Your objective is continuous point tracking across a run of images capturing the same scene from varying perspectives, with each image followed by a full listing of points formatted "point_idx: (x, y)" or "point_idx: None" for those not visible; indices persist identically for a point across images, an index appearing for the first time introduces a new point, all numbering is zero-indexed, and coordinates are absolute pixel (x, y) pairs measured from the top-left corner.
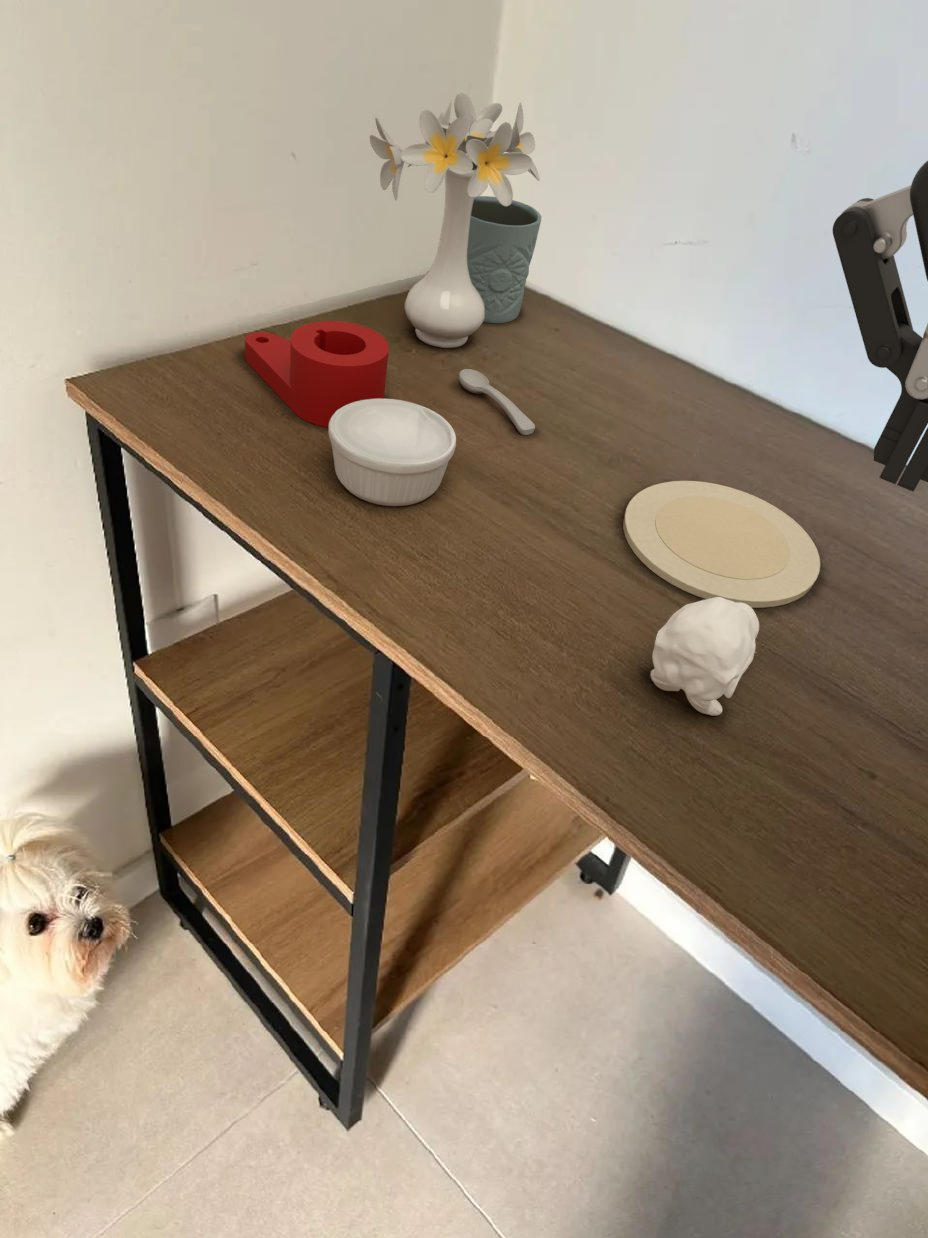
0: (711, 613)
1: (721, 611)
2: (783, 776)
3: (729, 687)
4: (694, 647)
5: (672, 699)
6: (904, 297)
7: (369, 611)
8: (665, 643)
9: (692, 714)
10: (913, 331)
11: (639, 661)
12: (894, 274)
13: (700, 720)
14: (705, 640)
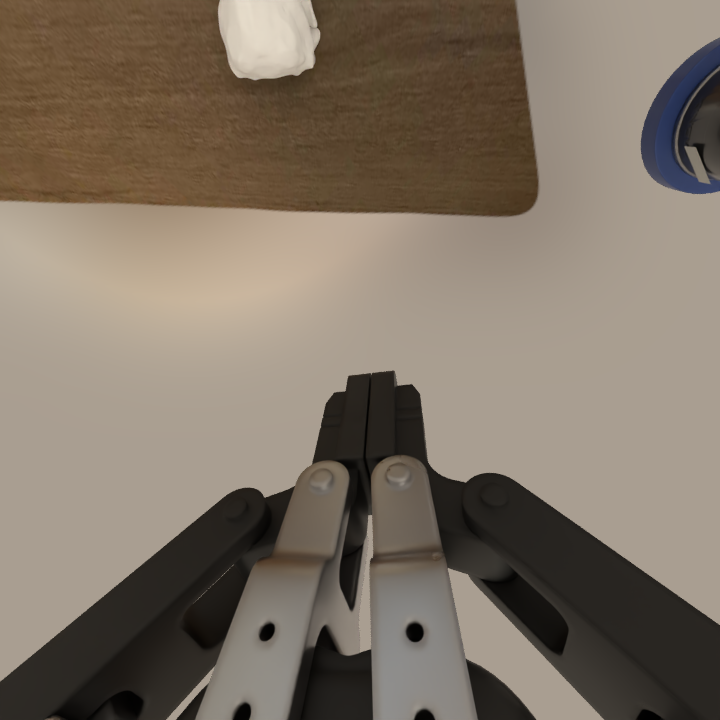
0: (250, 35)
1: (252, 14)
2: (396, 55)
3: (310, 21)
4: (268, 75)
5: None
6: (195, 582)
7: (92, 197)
8: (245, 76)
9: None
10: (264, 546)
11: None
12: (153, 648)
13: None
14: (270, 67)
